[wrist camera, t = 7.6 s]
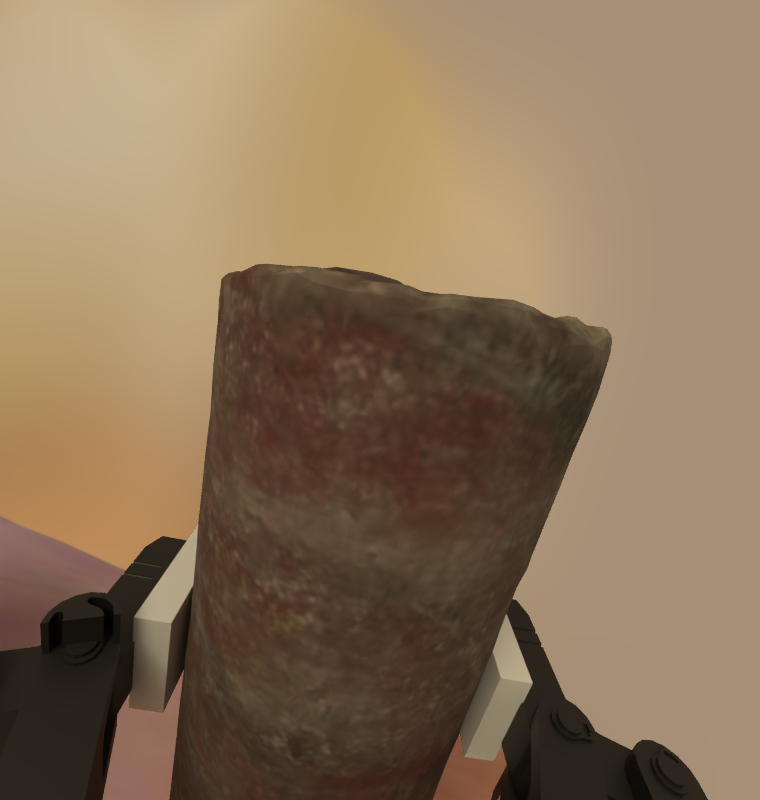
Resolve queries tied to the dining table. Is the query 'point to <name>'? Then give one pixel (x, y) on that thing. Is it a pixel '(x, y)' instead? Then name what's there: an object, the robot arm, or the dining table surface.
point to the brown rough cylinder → (364, 525)
